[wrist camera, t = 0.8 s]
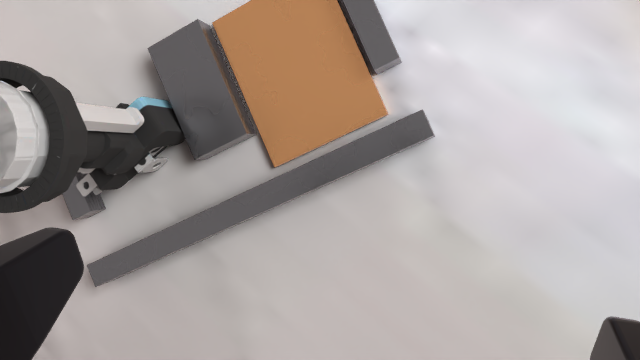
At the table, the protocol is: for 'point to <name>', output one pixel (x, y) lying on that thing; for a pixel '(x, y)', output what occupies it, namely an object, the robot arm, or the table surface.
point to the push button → (73, 139)
